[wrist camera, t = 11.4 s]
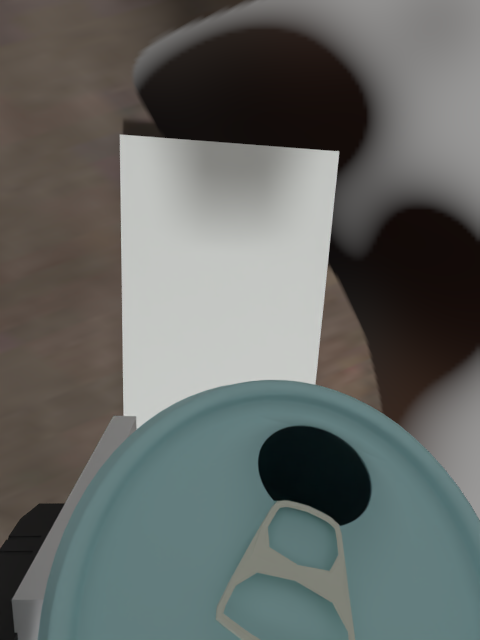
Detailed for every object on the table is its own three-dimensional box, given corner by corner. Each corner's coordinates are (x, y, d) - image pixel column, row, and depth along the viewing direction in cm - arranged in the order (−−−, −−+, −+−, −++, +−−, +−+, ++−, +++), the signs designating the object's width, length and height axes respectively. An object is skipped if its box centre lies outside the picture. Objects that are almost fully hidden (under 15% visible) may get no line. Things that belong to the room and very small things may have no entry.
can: (123, 506, 15) (-21, 407, 5) (279, 453, 17) (391, 304, 7) (159, 737, 12) (-55, 1654, 2) (349, 642, 14) (759, 872, 4)
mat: (307, 424, 30) (310, 430, 29) (126, 422, 28) (123, 428, 27) (334, 154, 25) (339, 151, 24) (123, 138, 24) (119, 134, 23)
